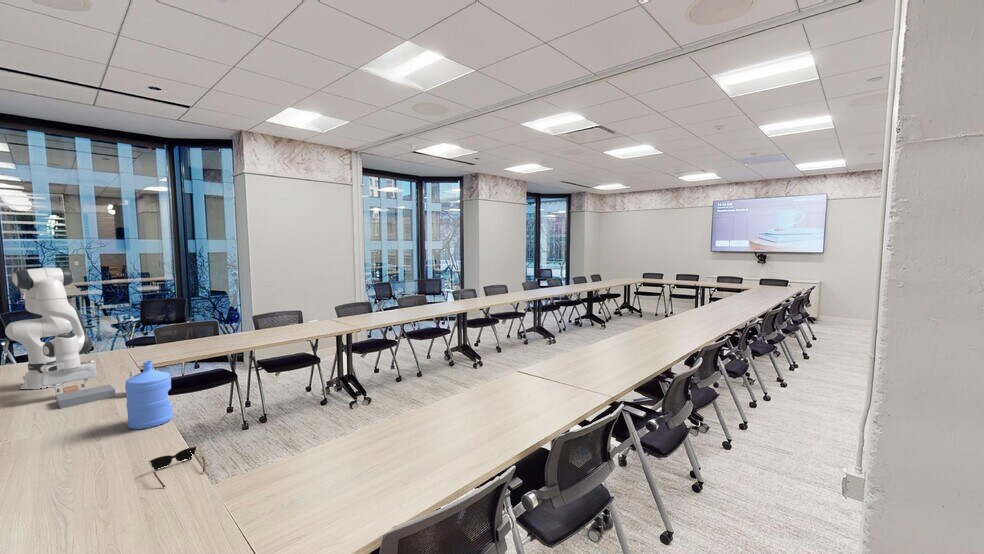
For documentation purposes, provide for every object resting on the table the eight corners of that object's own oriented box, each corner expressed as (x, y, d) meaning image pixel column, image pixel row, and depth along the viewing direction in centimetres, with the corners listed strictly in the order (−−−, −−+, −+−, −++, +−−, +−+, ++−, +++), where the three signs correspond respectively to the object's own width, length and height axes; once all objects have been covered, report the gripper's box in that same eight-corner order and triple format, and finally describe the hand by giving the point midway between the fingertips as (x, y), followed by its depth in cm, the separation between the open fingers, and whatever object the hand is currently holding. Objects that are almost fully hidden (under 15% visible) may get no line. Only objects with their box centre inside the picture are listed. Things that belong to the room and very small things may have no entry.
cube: (63, 397, 211) (63, 387, 210) (77, 394, 215) (76, 385, 214) (65, 399, 208) (64, 389, 207) (78, 396, 212) (78, 387, 211)
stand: (56, 402, 203) (55, 395, 202) (109, 391, 219) (109, 384, 218) (60, 408, 195) (59, 400, 195) (115, 396, 211) (114, 389, 211)
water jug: (147, 431, 171) (143, 368, 169) (118, 428, 174) (114, 365, 172) (181, 416, 186) (178, 358, 184) (154, 413, 190) (151, 356, 188)
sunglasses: (196, 458, 151) (196, 445, 150) (209, 476, 140) (208, 463, 140) (149, 473, 140) (148, 460, 140) (159, 494, 130) (158, 480, 129)
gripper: (94, 358, 220) (96, 383, 221) (39, 367, 203) (41, 394, 204) (97, 360, 216) (99, 385, 217) (40, 369, 200) (42, 396, 200)
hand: (70, 389), depth 210 cm, fingers open, 8 cm apart
